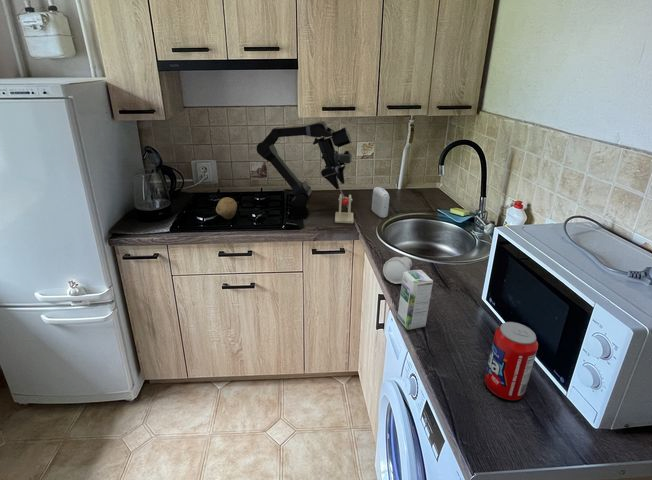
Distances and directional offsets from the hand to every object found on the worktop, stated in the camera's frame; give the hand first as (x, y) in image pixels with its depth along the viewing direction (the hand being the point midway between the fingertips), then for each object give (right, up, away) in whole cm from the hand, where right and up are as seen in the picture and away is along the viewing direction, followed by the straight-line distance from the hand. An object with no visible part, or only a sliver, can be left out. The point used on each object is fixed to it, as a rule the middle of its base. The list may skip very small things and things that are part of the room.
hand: (340, 186), depth 160 cm
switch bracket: (+2, -14, +9) cm, 17 cm away
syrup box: (+14, -40, -57) cm, 71 cm away
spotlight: (+15, -32, -36) cm, 50 cm away
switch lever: (+2, -8, +1) cm, 8 cm away
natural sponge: (-49, -14, +7) cm, 52 cm away
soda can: (+28, -48, -78) cm, 95 cm away
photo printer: (+19, -12, +15) cm, 27 cm away
